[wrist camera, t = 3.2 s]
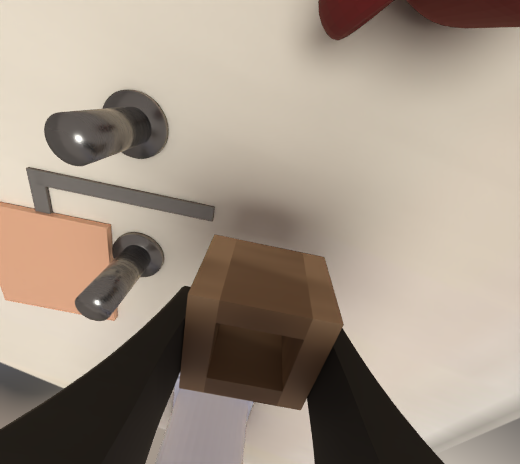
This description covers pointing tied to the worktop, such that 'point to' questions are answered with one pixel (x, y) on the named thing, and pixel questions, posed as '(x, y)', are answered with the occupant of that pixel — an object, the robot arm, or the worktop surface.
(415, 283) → the worktop surface
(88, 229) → the pad
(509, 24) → the mug
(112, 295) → the post
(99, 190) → the grey flat l-shaped piece
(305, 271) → the open wooden crate
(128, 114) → the post
